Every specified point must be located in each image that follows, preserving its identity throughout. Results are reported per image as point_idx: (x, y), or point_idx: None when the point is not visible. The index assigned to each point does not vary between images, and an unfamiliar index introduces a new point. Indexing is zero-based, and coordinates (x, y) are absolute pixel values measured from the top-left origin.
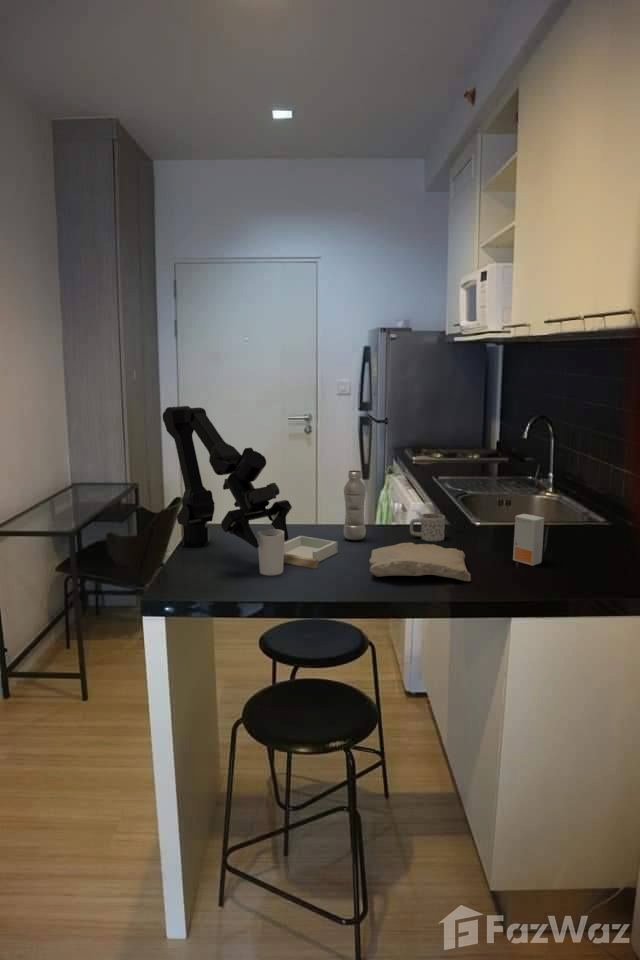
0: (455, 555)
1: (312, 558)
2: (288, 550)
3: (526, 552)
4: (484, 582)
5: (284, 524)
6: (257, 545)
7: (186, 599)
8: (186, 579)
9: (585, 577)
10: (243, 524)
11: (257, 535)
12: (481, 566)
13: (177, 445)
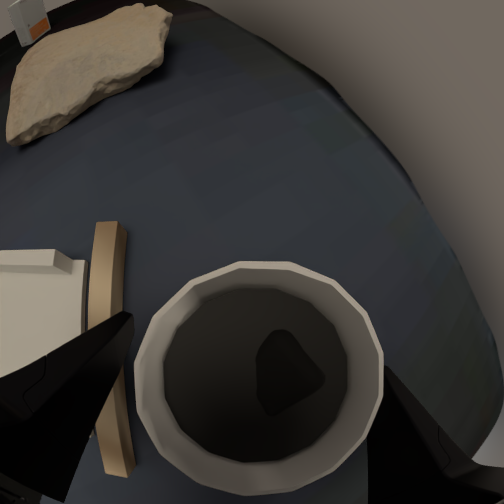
0: (63, 30)
1: (54, 287)
2: None
3: (41, 22)
4: None
5: (47, 371)
6: (389, 368)
7: (493, 358)
8: None
9: (84, 3)
10: (493, 468)
11: (336, 452)
12: None
13: None
